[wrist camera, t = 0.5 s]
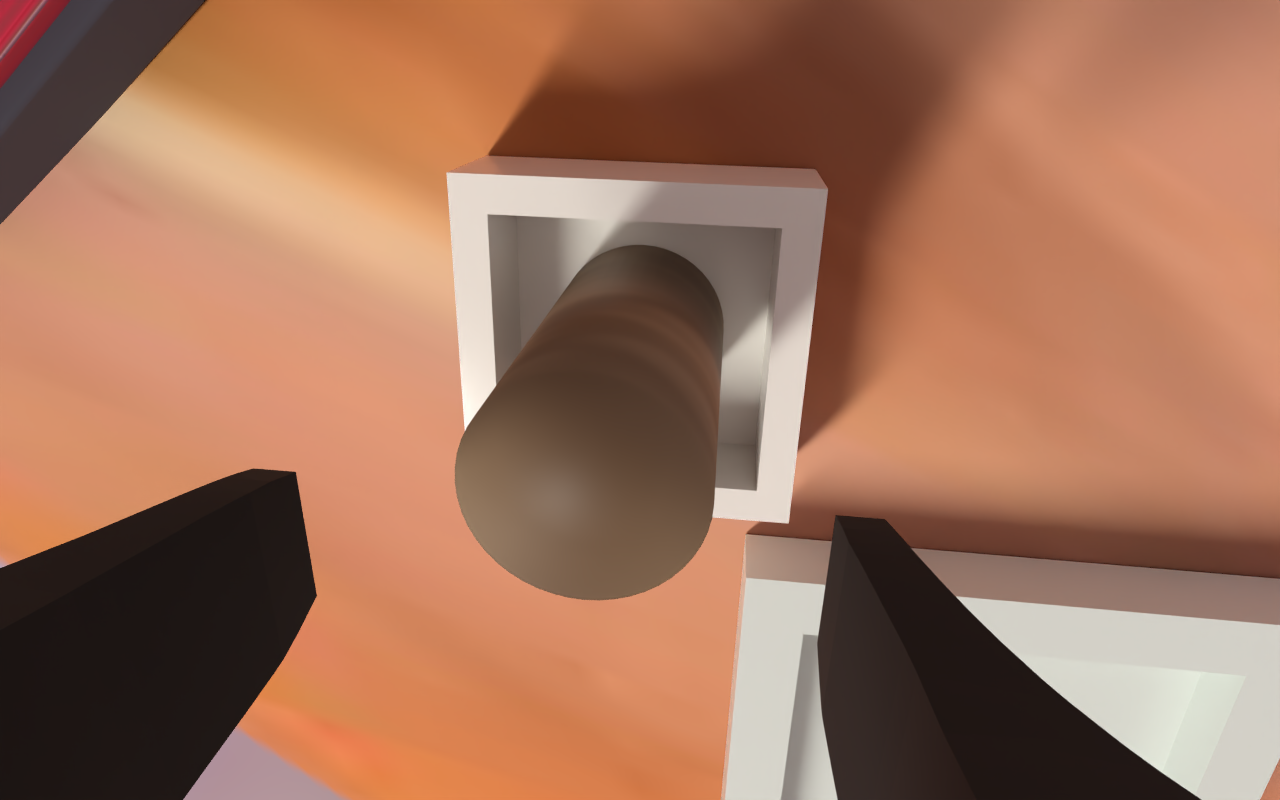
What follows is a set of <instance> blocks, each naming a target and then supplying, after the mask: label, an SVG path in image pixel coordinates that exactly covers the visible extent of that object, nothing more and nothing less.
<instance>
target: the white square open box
mask: <svg viewBox="0 0 1280 800" xmlns="http://www.w3.org/2000/svg"><path fill="white" fill-rule="evenodd" d="M447 186H448V200H449V214H450V228H451V242H452V256H453V270H454V284H455V298H456V313H457V327H458V341H459V355H460V369H461V383H462V397H463V411H464V425H465V430H466V428H467V426H468V425H469V423H470V422H471V420H472V419H473V417H474V416H475V414H476V413H477V412H478V410H479V409H480V407H481V406H482V405H483V403H484V402H485V400H486V399H487V398H488V396H489V395H490V394H491V392H492V391H493V389H494V388H495V387H496V385H497V384H498V382H499V381H500V380H501V378H502V377H503V375H504V374H505V373H506V371H507V370H508V368H509V367H510V366H511V364H512V363H513V362H514V360H515V359H516V357H517V356H518V355H519V353H520V352H521V350H522V349H523V348H524V346H525V345H526V343H527V342H528V341H529V339H530V338H531V337H532V335H533V334H534V332H535V331H536V330H537V328H538V327H539V325H540V324H541V323H542V321H543V320H544V318H545V317H546V316H547V314H548V313H549V311H550V310H551V309H552V307H553V306H554V305H555V303H556V302H557V300H558V299H559V298H560V296H561V295H562V293H563V292H564V291H565V289H566V288H567V286H568V285H569V284H570V282H571V281H572V279H573V278H574V277H575V275H576V274H577V273H578V272H579V271H580V270H581V269H582V267H583V266H585V265H586V264H587V263H588V262H589V261H591V260H592V259H594V258H595V257H597V256H598V255H600V254H602V253H604V252H607V251H609V250H611V249H615V248H618V247H622V246H629V245H649V246H656V247H660V248H664V249H667V250H669V251H672V252H675V253H677V254H678V255H680V256H682V257H684V258H686V259H687V260H688V261H690V262H691V263H693V264H694V265H695V266H696V267H697V268H698V269H699V270H700V271H701V272H702V273H703V274H704V275H705V276H706V278H707V279H708V280H709V281H710V283H711V285H712V286H713V288H714V290H715V292H716V294H717V296H718V299H719V301H720V305H721V308H722V313H723V320H724V333H723V352H722V370H721V389H720V407H719V425H718V444H717V462H716V481H715V499H714V509H713V515H712V517H715V518H727V519H739V520H751V521H763V522H776V523H788V524H789V516H790V508H791V499H792V491H793V482H794V474H795V465H796V457H797V449H798V440H799V432H800V423H801V415H802V406H803V398H804V389H805V381H806V372H807V364H808V355H809V347H810V338H811V330H812V322H813V313H814V305H815V296H816V288H817V279H818V271H819V262H820V254H821V245H822V237H823V228H824V220H825V211H826V203H827V195H828V188H827V186H826V185H825V183H824V182H823V180H822V179H821V177H820V175H819V174H818V172H817V171H816V169H801V168H777V167H752V166H728V165H704V164H680V163H655V162H631V161H607V160H582V159H558V158H534V157H510V156H484V157H482V158H479V159H477V160H475V161H472V162H470V163H468V164H465V165H463V166H461V167H458V168H456V169H454V170H451V171H449V172H447Z"/></svg>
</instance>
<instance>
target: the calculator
mask: <svg viewBox="0 0 1280 800" xmlns="http://www.w3.org/2000/svg"><path fill="white" fill-rule="evenodd" d="M204 1H205V0H0V224H1V223H2V222H3V221H4V220H5V219H6V218H7V217H8V216H9V215H10V214H11V213H12V211H13V210H14V209H15V208H16V207H17V206H18V205H19V204H20V203H21V202H22V201H23V200H24V199H25V198H26V197H27V196H28V195H29V193H30V192H31V191H32V190H33V189H34V188H35V187H36V186H37V185H38V184H39V183H40V182H41V181H42V180H43V179H44V178H45V177H46V175H47V174H48V173H49V172H50V171H51V170H52V169H53V168H54V167H55V166H56V165H57V164H58V163H59V162H60V161H61V160H62V158H63V157H64V156H65V155H66V154H67V153H68V152H69V151H70V150H71V149H72V148H73V147H74V146H75V145H76V144H77V142H78V141H79V140H80V139H81V138H82V137H83V136H84V135H85V134H86V133H87V132H88V131H89V130H90V129H91V128H92V126H93V125H94V124H95V123H96V122H97V121H98V120H99V119H100V118H101V117H102V116H103V115H104V113H105V112H106V111H107V110H108V109H109V108H110V107H111V106H112V104H113V103H114V102H115V101H116V100H117V99H118V98H119V97H120V95H121V94H122V93H123V92H124V91H125V90H126V89H127V88H128V86H129V85H130V84H131V83H132V82H133V81H134V80H135V79H136V77H137V76H138V75H139V74H140V73H141V72H142V71H143V70H144V68H145V67H146V66H147V65H148V64H149V63H150V62H151V61H152V59H153V58H154V57H155V56H156V55H157V54H158V53H159V52H160V50H161V49H162V48H163V47H164V46H165V45H166V44H167V43H168V41H169V40H170V39H171V38H172V37H173V36H174V35H175V34H176V32H177V31H178V30H179V29H180V28H181V27H182V26H183V25H184V23H185V22H186V21H187V20H188V19H189V18H190V17H191V16H192V14H193V13H194V12H195V11H196V10H197V9H198V8H199V7H200V5H201V4H202V3H203V2H204Z"/></svg>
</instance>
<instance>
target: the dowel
mask: <svg viewBox="0 0 1280 800" xmlns="http://www.w3.org/2000/svg"><path fill="white" fill-rule="evenodd" d="M723 333H724V320H723V313H722V308H721V305H720V301H719V299H718V296H717V294H716V292H715V290H714V288H713V286H712V285H711V283H710V281H709V280H708V279H707V278H706V276H705V275H704V274H703V273H702V272H701V271H700V270H699V269H698V268H697V267H696V266H695V265H694V264H693V263H691V262H690V261H688V260H687V259H686V258H684V257H682V256H680V255H678V254H677V253H675V252H672V251H669V250H667V249H664V248H660V247H656V246H649V245H629V246H622V247H618V248H615V249H611V250H609V251H607V252H604V253H602V254H600V255H598V256H597V257H595V258H594V259H592V260H591V261H589V262H588V263H587V264H586V265H585V266H583V267H582V269H581V270H580V271H579V272H578V273H577V274H576V275H575V277H574V278H573V279H572V281H571V282H570V284H569V285H568V286H567V288H566V289H565V291H564V292H563V293H562V295H561V296H560V298H559V299H558V300H557V302H556V303H555V305H554V306H553V307H552V309H551V310H550V311H549V313H548V314H547V316H546V317H545V318H544V320H543V321H542V323H541V324H540V325H539V327H538V328H537V330H536V331H535V332H534V334H533V335H532V337H531V338H530V339H529V341H528V342H527V343H526V345H525V346H524V348H523V349H522V350H521V352H520V353H519V355H518V356H517V357H516V359H515V360H514V362H513V363H512V364H511V366H510V367H509V368H508V370H507V371H506V373H505V374H504V375H503V377H502V378H501V380H500V381H499V382H498V384H497V385H496V387H495V388H494V389H493V391H492V392H491V394H490V395H489V396H488V398H487V399H486V400H485V402H484V403H483V405H482V406H481V407H480V409H479V410H478V412H477V413H476V414H475V416H474V417H473V419H472V420H471V422H470V423H469V425H468V426H467V428H466V430H465V432H464V435H463V437H462V439H461V442H460V445H459V448H458V452H457V457H456V464H455V486H456V493H457V498H458V502H459V505H460V508H461V512H462V514H463V516H464V518H465V521H466V523H467V525H468V527H469V529H470V530H471V532H472V533H473V535H474V537H475V538H476V540H477V541H478V542H479V544H480V545H481V546H482V547H483V549H484V550H485V551H486V552H487V553H488V554H489V555H490V556H491V557H492V558H493V559H494V560H495V561H496V562H497V563H498V564H499V565H501V566H502V567H503V568H504V569H506V570H507V571H508V572H510V573H511V574H513V575H514V576H516V577H517V578H519V579H521V580H522V581H524V582H526V583H528V584H530V585H532V586H534V587H536V588H539V589H542V590H544V591H547V592H550V593H553V594H556V595H560V596H564V597H569V598H576V599H582V600H609V599H618V598H623V597H629V596H633V595H636V594H639V593H642V592H645V591H648V590H650V589H652V588H654V587H656V586H659V585H660V584H662V583H664V582H665V581H667V580H668V579H670V578H672V577H673V576H674V575H675V574H677V573H678V572H679V571H680V570H681V569H683V568H684V567H685V566H686V564H687V563H688V562H689V561H690V560H691V559H692V558H693V557H694V555H695V554H696V552H697V551H698V549H699V548H700V547H701V545H702V543H703V541H704V539H705V537H706V535H707V533H708V530H709V526H710V523H711V520H712V515H713V509H714V499H715V481H716V462H717V444H718V425H719V407H720V389H721V370H722V352H723Z"/></svg>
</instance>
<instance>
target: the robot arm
mask: <svg viewBox="0 0 1280 800" xmlns="http://www.w3.org/2000/svg"><path fill="white" fill-rule="evenodd" d="M316 596H317V594H316V588H315V583H314V577H313V571H312V565H311V559H310V553H309V547H308V541H307V536H306V530H305V524H304V518H303V512H302V506H301V500H300V494H299V489H298V483H297V477H296V472H289V471H277V470H265V469H250V470H247V471H243V472H240V473H237V474H234V475H231V476H228V477H225V478H222V479H220V480H217V481H214V482H212V483H209V484H207V485H204V486H202V487H199V488H197V489H194V490H192V491H189V492H187V493H184V494H182V495H180V496H177V497H175V498H172V499H170V500H168V501H165V502H163V503H160V504H158V505H156V506H153V507H151V508H149V509H146V510H144V511H141V512H139V513H137V514H134V515H132V516H130V517H127V518H125V519H122V520H120V521H118V522H115V523H113V524H111V525H108V526H106V527H103V528H101V529H99V530H96V531H94V532H91V533H89V534H87V535H84V536H82V537H79V538H76V539H74V540H71V541H69V542H66V543H64V544H61V545H59V546H56V547H53V548H51V549H48V550H46V551H43V552H41V553H38V554H36V555H33V556H30V557H28V558H25V559H23V560H20V561H18V562H15V563H13V564H10V565H7V566H5V567H2V568H0V800H183V799H184V798H185V796H186V795H187V793H188V792H189V791H190V789H191V788H192V786H193V785H194V784H195V782H196V781H197V780H198V778H199V777H200V775H201V774H202V773H203V771H204V770H205V769H206V767H207V766H208V764H209V763H210V762H211V760H212V759H213V757H214V756H215V755H216V753H217V752H218V751H219V749H220V748H221V746H222V745H223V744H224V742H225V741H226V740H227V738H228V737H229V735H230V734H231V733H232V731H233V730H234V729H235V727H236V726H237V724H238V723H239V722H240V720H241V719H242V718H243V716H244V715H245V713H246V712H247V711H248V709H249V708H250V706H251V705H252V704H253V702H254V701H255V699H256V698H257V697H258V695H259V694H260V692H261V691H262V689H263V688H264V687H265V685H266V684H267V682H268V681H269V680H270V678H271V677H272V675H273V674H274V672H275V671H276V670H277V668H278V667H279V665H280V664H281V662H282V661H283V659H284V657H285V656H286V654H287V652H288V650H289V648H290V646H291V645H292V643H293V641H294V639H295V637H296V636H297V634H298V632H299V630H300V628H301V626H302V624H303V622H304V620H305V618H306V616H307V614H308V612H309V610H310V608H311V606H312V604H313V602H314V600H315V598H316ZM817 650H818V667H819V684H820V698H821V711H822V719H823V725H824V730H825V736H826V741H827V747H828V752H829V757H830V763H831V768H832V774H833V779H834V784H835V789H836V794H837V800H1201V799H1200V798H1198V797H1197V796H1195V795H1194V794H1193V793H1191V792H1190V791H1188V790H1187V789H1185V788H1184V787H1182V786H1181V785H1179V784H1178V783H1176V782H1175V781H1173V780H1172V779H1171V778H1169V777H1168V776H1166V775H1165V774H1163V773H1162V772H1160V771H1159V770H1158V769H1156V768H1155V767H1153V766H1152V765H1151V764H1149V763H1148V762H1147V761H1145V760H1144V759H1142V758H1141V757H1140V756H1138V755H1137V754H1135V753H1134V752H1133V751H1131V750H1130V749H1129V748H1127V747H1126V746H1125V745H1123V744H1122V743H1121V742H1119V741H1118V740H1117V739H1116V738H1114V737H1113V736H1112V735H1111V734H1109V733H1108V732H1107V731H1105V730H1104V729H1103V728H1102V727H1100V726H1099V725H1098V724H1097V723H1095V722H1094V721H1093V720H1091V719H1090V718H1089V717H1088V716H1086V715H1085V714H1084V713H1083V712H1081V711H1080V710H1079V709H1077V708H1076V707H1075V706H1074V705H1072V704H1071V703H1070V702H1069V701H1067V700H1066V699H1065V698H1064V697H1063V696H1061V695H1060V694H1059V693H1058V692H1057V691H1055V690H1054V689H1053V688H1052V687H1051V686H1050V685H1048V684H1047V683H1046V682H1045V681H1044V680H1043V679H1041V678H1040V677H1039V676H1038V675H1037V674H1036V673H1035V672H1034V671H1033V670H1032V669H1030V668H1029V667H1028V666H1027V665H1026V664H1025V663H1024V662H1023V661H1022V660H1021V659H1019V658H1018V657H1017V656H1016V655H1015V654H1014V653H1013V652H1012V651H1011V650H1010V649H1008V648H1007V647H1006V646H1005V645H1004V644H1003V643H1002V642H1001V641H1000V640H999V639H998V638H997V637H996V636H995V635H994V634H993V633H992V632H991V631H989V630H988V629H987V628H986V627H985V626H984V625H983V624H982V623H981V622H980V621H979V620H978V619H977V618H976V617H975V616H974V615H973V614H972V613H971V612H970V611H969V610H968V609H967V608H966V607H965V606H964V605H963V604H962V603H961V601H960V600H959V599H958V598H957V597H956V596H955V595H954V594H953V593H952V592H951V591H950V590H949V589H948V588H947V587H946V586H945V585H944V584H943V583H942V582H941V580H940V579H939V578H938V577H937V576H936V575H935V574H934V573H933V572H932V571H931V570H930V568H929V567H928V566H927V565H926V564H925V563H924V562H923V561H922V560H921V559H920V558H919V556H918V555H917V554H916V553H915V552H914V551H913V550H912V549H911V547H910V546H909V545H908V544H907V543H906V542H905V541H904V540H903V539H902V537H901V536H900V535H899V534H898V533H897V532H896V531H895V530H894V529H893V527H892V526H891V525H890V524H889V523H888V522H887V521H886V520H885V519H875V518H863V517H850V516H838V515H836V517H835V523H834V530H833V537H832V544H831V551H830V558H829V565H828V572H827V578H826V585H825V592H824V599H823V606H822V613H821V620H820V627H819V633H818V640H817Z"/></svg>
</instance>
